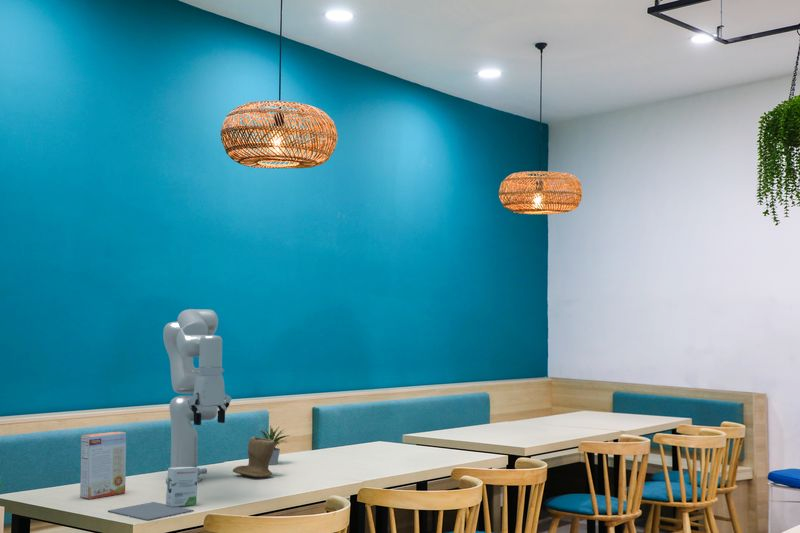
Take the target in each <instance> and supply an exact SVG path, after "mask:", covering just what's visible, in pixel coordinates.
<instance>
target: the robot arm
mask: <svg viewBox="0 0 800 533" xmlns="http://www.w3.org/2000/svg"><path fill="white" fill-rule="evenodd" d="M218 325H219V318H218V314H217V313H216V312H215V311H214V310H212V309H204V308H203V309H199V308H197V309H196V308H195V309H193V308H189V309H185V310H182V311H181V312H180V313H179V314H178V317H177V321H172V322H168V323H166V324H165V326H164V327H163V332H162V334H163V343H164V347H165V350H166V353H167V354H168V355H167V356H168V358H169V363H170V364H169V365H170V377H171V378H170V379H171V386H172V389H173V392H175V393H177V394H183V395H178V396H175V397H174V398H172V399H171V400H170V402H169V408H168V409H169V415H170V423H171V424H170V427H171V428H170V429H171V430H170V432H171V433H170V434H171V436H170V437H171V439H170V440H171V441H170V468H177V467H196V468H198V481H197V483H199V482H201V481H202V477H201V475H204V474H208V469H207V468H206V467H205V468H200V467H198V446H199V444H198V436H199V435H198V431H197V429H196V428H195V426H201V425H202V421H211V420H214V419H216V417H217V423H218V424H219V423H221V424H224V423H225V421H226V411H227V410H228V408H229V406H230V404H231V401H232V397H231V396H230V395H228V394H226V390H225V389H226V388H225V380H224V376H223V374H222V373H224V372H225V369H224V368H223V339H222V337H221V336H220V335H215V333H216V331H217V329H218ZM194 357H195V358H198V367H195V365H194ZM185 394H186V395H185ZM187 394H189V395H187ZM191 394H192V395H191ZM192 422H193V424H192ZM165 482H166V483H167V478H165Z"/></svg>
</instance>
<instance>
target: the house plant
mask: <svg viewBox="0 0 800 533" xmlns="http://www.w3.org/2000/svg"><path fill="white" fill-rule="evenodd" d="M279 428H280V426H278V427H277V428H276V429H275V430H274V428H273V427H272V425H270V427H269V431H268V430H267V429H266V428H264V429H262V430H260V433H261V434H262V438H265V439H270V440H273V441H274V443H275V447H274V451H273V454H272V457H271V459H270V461H269V464H268V466H276V465H278V462H279V456H280V451H281V449H280V448H276V446H277V447H278V446H279V445H280V444H281V443H287V441H288V439H283V438H286V437H287V435H282V434H283V433H285V429H284V428H283V429H281V430H280V431H279V432H278V429H279ZM264 430H265V431H264ZM277 432H278V433H277ZM276 433H277V435H276ZM280 435H282V436H280ZM288 437H291V435H288ZM281 439H283V440H281ZM286 440H287V441H286Z"/></svg>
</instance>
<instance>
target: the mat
mask: <svg viewBox="0 0 800 533" xmlns="http://www.w3.org/2000/svg"><path fill="white" fill-rule="evenodd" d="M191 511H193V512H194V511H195V510H194V509H190V508H185V507H182V506H176V507H171V506H168V505H166V503H161V502H156V501H151V502H145V503H142V504H136V505H129V506H125V507H120V508H114V509H109V510H107V513H111V514H116V515H121V516H125V517H128V516H129V518H134V519H137V520H143V521H153V520H154V521H155V520H158V518H159V519H163V518H162V517H164V518H167V517H168V516H169V517H173V516H177V514H178V515H182V514H181V513H183V514H186V513H187V512H188V513H192V512H191ZM172 515H173V516H172ZM169 517H168V518H169Z"/></svg>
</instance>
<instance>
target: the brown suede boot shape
mask: <svg viewBox="0 0 800 533" xmlns="http://www.w3.org/2000/svg"><path fill="white" fill-rule="evenodd" d="M274 447H275V448H276V446H275V443H274V439H273V440H270V439H266V438H264V437H260V436H258V437H257V436H251V437H250V439H249V440H248V445H247V455H248V465H238V466H236V467H234V468H233V469H232V472H233V473H235V474H238V475H243V476H246V477H249V478H266V477H267V478H268V477H271V476H273V474H274V473H273V472H272V471H271V470H270V469H269V465H268V464H269V461H270V459H271V457H272V454H273V451H274Z"/></svg>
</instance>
